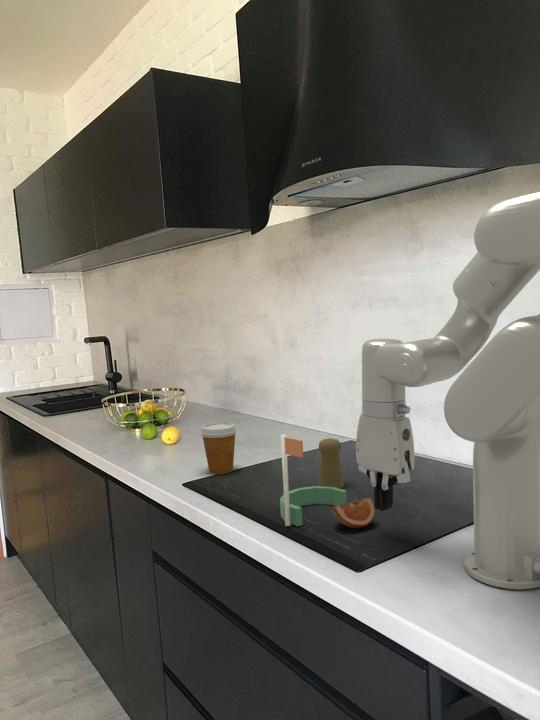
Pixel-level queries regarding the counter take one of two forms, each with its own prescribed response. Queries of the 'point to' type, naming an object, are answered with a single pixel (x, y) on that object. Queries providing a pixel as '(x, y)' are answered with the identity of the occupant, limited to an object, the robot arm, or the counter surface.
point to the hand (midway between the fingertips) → (383, 507)
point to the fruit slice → (355, 513)
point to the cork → (330, 464)
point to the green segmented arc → (305, 495)
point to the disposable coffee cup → (219, 446)
